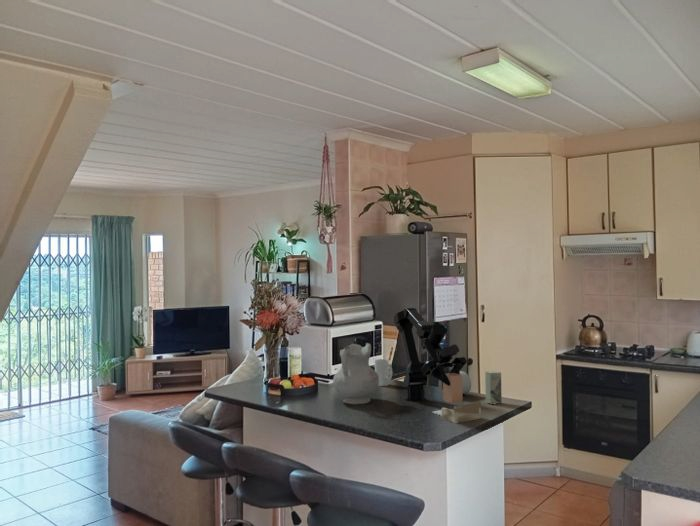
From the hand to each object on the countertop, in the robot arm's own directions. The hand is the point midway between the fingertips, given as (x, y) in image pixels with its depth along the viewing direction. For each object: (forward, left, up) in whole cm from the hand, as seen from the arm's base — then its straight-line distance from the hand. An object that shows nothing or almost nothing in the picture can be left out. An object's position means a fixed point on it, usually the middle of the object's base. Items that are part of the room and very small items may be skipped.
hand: (455, 384), depth 204 cm
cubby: (+2, -1, -12) cm, 12 cm away
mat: (-5, +2, -12) cm, 13 cm away
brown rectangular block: (-1, +1, -7) cm, 7 cm away
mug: (-56, +32, -12) cm, 66 cm away
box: (+3, +27, -12) cm, 29 cm away
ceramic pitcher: (-46, -2, -12) cm, 48 cm away
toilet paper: (-17, +31, -12) cm, 37 cm away
